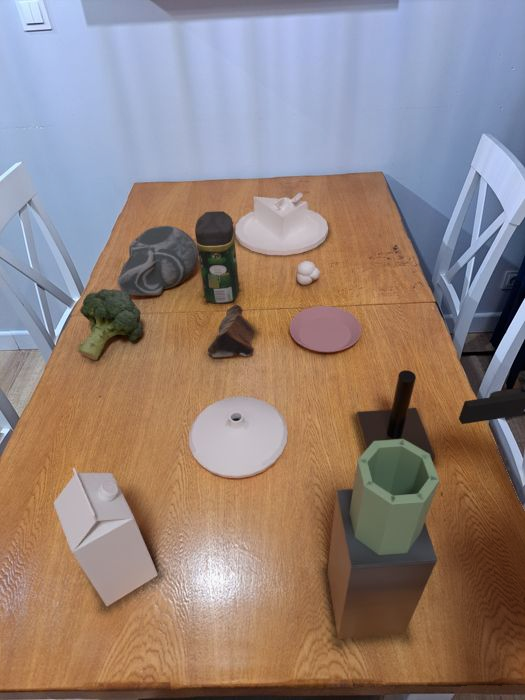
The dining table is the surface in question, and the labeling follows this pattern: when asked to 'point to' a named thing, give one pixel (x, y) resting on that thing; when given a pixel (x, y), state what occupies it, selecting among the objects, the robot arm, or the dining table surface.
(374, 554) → the stand
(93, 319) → the vegetable
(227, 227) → the coffee jar
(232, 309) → the stone
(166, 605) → the dining table surface
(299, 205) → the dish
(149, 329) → the dining table surface
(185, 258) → the grey swirled rock
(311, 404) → the dining table surface
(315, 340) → the plate
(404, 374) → the peg stand
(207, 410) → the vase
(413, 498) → the green octagonal tube
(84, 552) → the milk carton
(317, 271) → the microfossil shell
